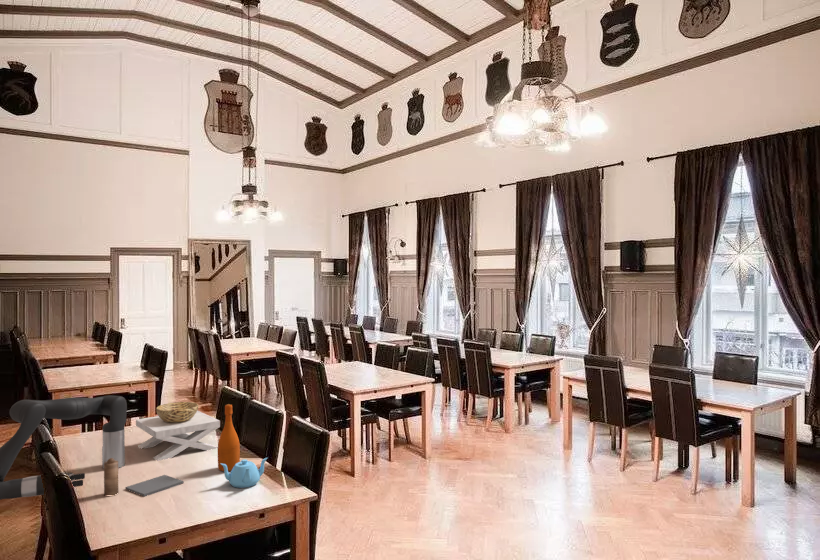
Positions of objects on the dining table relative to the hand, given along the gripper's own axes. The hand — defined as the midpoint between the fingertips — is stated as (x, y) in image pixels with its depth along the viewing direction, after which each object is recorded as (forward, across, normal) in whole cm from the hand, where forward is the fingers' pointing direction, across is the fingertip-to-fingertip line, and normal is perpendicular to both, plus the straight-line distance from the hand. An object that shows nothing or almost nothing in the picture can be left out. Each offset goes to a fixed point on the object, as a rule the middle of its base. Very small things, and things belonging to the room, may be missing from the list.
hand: (83, 479), depth 233 cm
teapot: (+61, -13, +8) cm, 63 cm away
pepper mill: (+10, 0, +8) cm, 12 cm away
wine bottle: (+58, +11, +8) cm, 60 cm away
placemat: (+26, +1, +8) cm, 27 cm away
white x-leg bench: (+39, +57, +8) cm, 70 cm away
